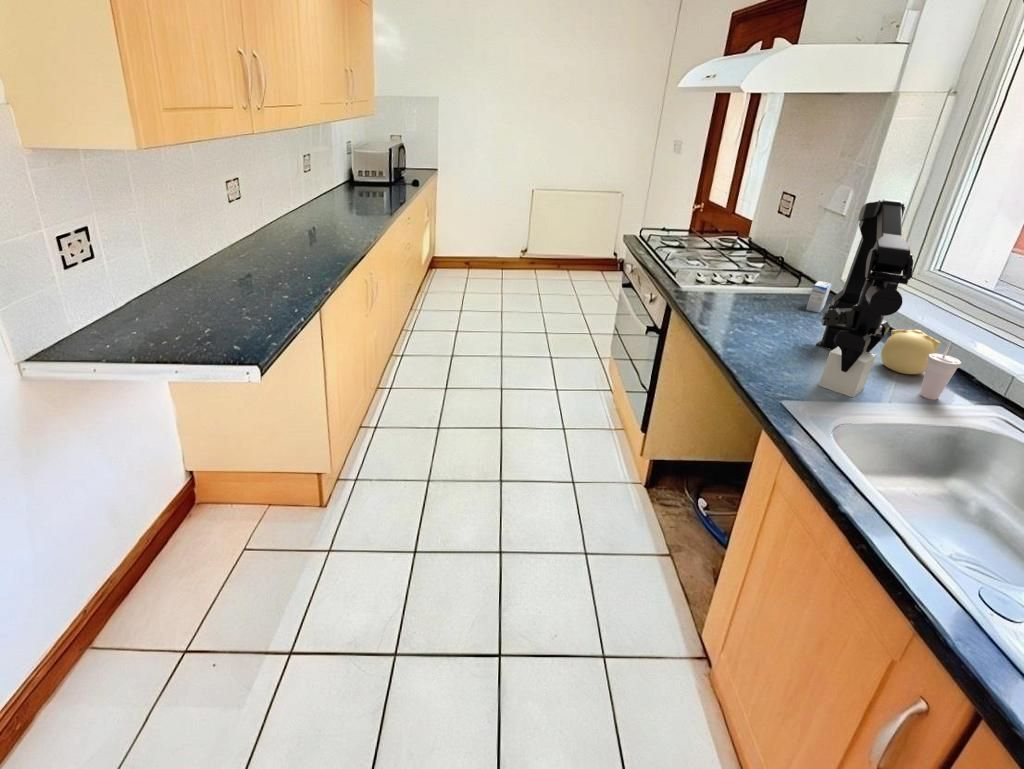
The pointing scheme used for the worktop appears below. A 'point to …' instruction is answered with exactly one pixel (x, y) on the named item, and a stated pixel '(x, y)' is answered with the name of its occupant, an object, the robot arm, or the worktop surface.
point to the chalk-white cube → (846, 373)
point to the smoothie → (938, 373)
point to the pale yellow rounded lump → (908, 351)
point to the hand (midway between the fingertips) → (850, 366)
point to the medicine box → (818, 296)
